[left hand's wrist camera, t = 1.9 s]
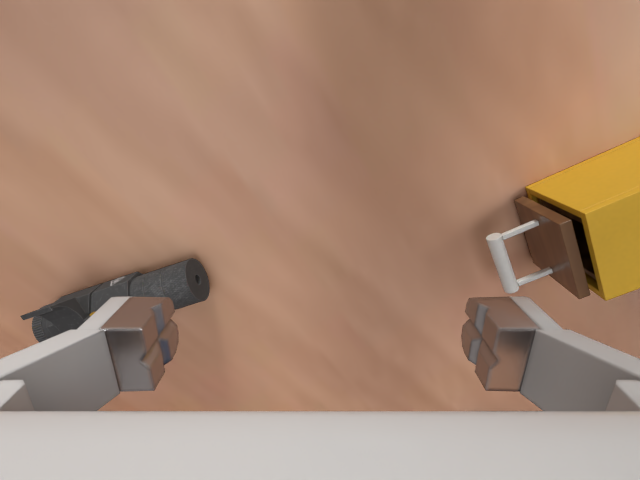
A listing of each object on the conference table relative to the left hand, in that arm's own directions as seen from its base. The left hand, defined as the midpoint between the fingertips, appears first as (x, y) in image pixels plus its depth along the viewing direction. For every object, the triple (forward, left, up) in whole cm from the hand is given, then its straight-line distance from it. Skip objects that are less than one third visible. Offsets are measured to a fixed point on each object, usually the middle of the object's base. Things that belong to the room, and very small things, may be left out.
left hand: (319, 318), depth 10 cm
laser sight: (+30, -12, -35) cm, 48 cm away
